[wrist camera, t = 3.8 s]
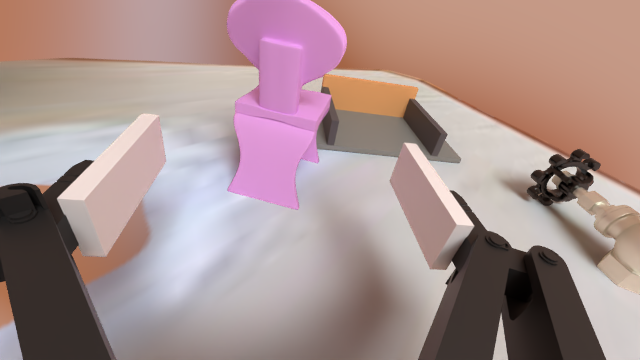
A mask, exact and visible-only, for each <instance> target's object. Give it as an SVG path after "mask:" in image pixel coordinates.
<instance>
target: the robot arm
mask: <svg viewBox="0 0 640 360" xmlns="http://www.w3.org/2000/svg"><path fill="white" fill-rule="evenodd" d="M165 163H166V157H165V151H164V145H163V138H162V132H161V126H160V120H159V115H153V114H144V113H142V114H141V115H140V116H139V117H138V118H137V119H136V120H135V121H134V122H133V123H132V124H131V125H130V126H129V127H128V128H127V129H126V130H125V131H124V132H123V133H122V134H121V135H120V136H119V137H118V138H117V139H116V140H115V141H114V142H113V143H112V144H111V145H110V146H109V147H108V148H107V149H106V150H105V151H104V152H103V153H102V154H101V155H100V156H99V157H98V158H97V159H96V160H95V161H92V160H84V161H82V162H80V163H78V164H76V165H74V166H72V167H71V168H70V169H69V170H68V171H67V172H66V173H65V174H64V176H62V177H60V178H59V179H58V180H57V182H55V183H54V184H53V185H52V186H51V187H50V188H49V189H48V190H46V191H45V192H44V193H43V194H42V193H41V191H40V189H39V188H38V187H37V186H36V185H33V184H29V183H17V184H11V185H6V186H3V187H0V282H3V281H6V285H7V290H8V294H9V299H10V303H11V307H12V312H13V316H14V321H15V325H16V330H17V334H18V339H19V343H20V348H21V352H22V357H23V360H116V358H115V356H114V353H113V351H112V349H111V346H110V344H109V342H108V339H107V337H106V334H105V332H104V330H103V327H102V325H101V323H100V320H99V318H98V316H97V313H96V311H95V308H94V306H93V304H92V301H91V299H90V297H89V294H88V292H87V289H86V287H85V285H84V282H83V280H82V278H81V275H80V273H79V271H78V268H77V266H76V263H75V261H74V259H73V257H72V255H71V254H72V253H73V251H74V250H75V249H76V247H77V246H79V248H80V251H81V252H82V255H83V256H97V257H106V256H107V254H108V253H109V251H110V249H111V248H112V246H113V245H114V243H115V242H116V240H117V238H118V237H119V235H120V233H121V232H122V231H123V229H124V227H125V226H126V224H127V223H128V221H129V219H130V218H131V216H132V215H133V213H134V212H135V210H136V208H137V207H138V205H139V204H140V202H141V200H142V199H143V197H144V196H145V194H146V193H147V191H148V189H149V188H150V186H151V185H152V183H153V181H154V180H155V178H156V177H157V175H158V174H159V172H160V170H161V169H162V167H163V166H164V164H165ZM390 183H391V185H392V187H393V189H394V192H395V194H396V196H397V198H398V200H399V202H400V205H401V207H402V209H403V211H404V213H405V215H406V218H407V220H408V222H409V224H410V226H411V228H412V231H413V233H414V235H415V237H416V239H417V241H418V244H419V246H420V248H421V250H422V252H423V254H424V257H425V259H426V261H427V263H428V265H429V267H430V269H439V270H446V269H447V267H448V266H449V264H450V263H451V261H452V262H453V263H454V265H455V267H456V269H455V270H454V272H453V273H452V275H451V276H450V277H449V279H448V280H447V282H446V283H445V284H447V285H448V286H447V288H446V291H445V293H444V296H443V298H442V301H441V303H440V306H439V308H438V311H437V313H436V316H435V318H434V321H433V323H432V326H431V328H430V331H429V333H428V336H427V338H426V341H425V343H424V346H423V348H422V351H421V353H420V356H419V358H418V360H492V359H493V354H494V348H495V343H496V337H497V332H498V326H499V321H500V315H501V313H502V320H503V327H504V334H505V340H506V347H507V354H508V360H606V358H605V356H604V353H603V351H602V348H601V346H600V344H599V341H598V339H597V336H596V334H595V332H594V329H593V327H592V324H591V322H590V320H589V317H588V315H587V312H586V310H585V308H584V305H583V303H582V301H581V298H580V296H579V293H578V291H577V289H576V286H575V284H574V281H573V279H572V277H571V274H570V272H569V269H568V267H567V265H566V263H565V262H564V260H563V259H562V258H561V257H560V256H559V255H558V254H557V253H555V252H554V251H552V250H550V249H548V248H546V247H542V246H533V247H532V248H531V249H530V250H529V251H528V252H523V251H520V250H517V249H513V248H512V247H511V245H510V244H509V242H508V241H506V240H505V239H504V238H503V237H501V236H500V235H498V234H496V233H494V232H491V231H487V230H486V229H485V227H484V226H483V225H482V223H481V222H480V221H479V219H478V218H477V217H476V215H475V214H474V213H473V212H472V210H471V209H470V207H469V206H468V205H467V203H466V202H465V200H464V199H463V198H462V197H461V196H460V195H458V194H457V193H456V192H455V191H451V190H449V189H448V188H447V186H446V185H445V184H444V182H443V181H442V179H441V178H440V177H439V175H438V174H437V172H436V171H435V169H434V168H433V167H432V165H431V164H430V162H429V161H428V160H427V158H426V157H425V155H424V154H423V153H422V151H421V150H420V148H419V147H418V145H417V144H413V143H404V144H403V146H402V149H401V152H400V155H399V157H398V160H397V163H396V165H395V168H394V171H393V173H392V176H391V179H390Z"/></svg>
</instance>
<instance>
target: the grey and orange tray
mask: <svg viewBox="0 0 640 360" xmlns="http://www.w3.org/2000/svg"><path fill="white" fill-rule="evenodd" d="M417 92H418V88H417V87H412V86H405V85H398V84H391V83H384V82H378V81H371V80H364V79H357V78H350V77H343V76H336V75H329V74H324V77H323V83H322V89H321V93H324V94H328V95H332V96H331V101H330V107H329V111H328V113H327V114H326V115H325V117H324V118H323V120H322V121H321V123H320V124H319V126H318V130H317V135H316V144H317V149H326V150H336V151H346V152H356V153H365V154H375V155H385V156H395V157H399V155H400V152H401V149H402V146H403V144H404V143H413V144H417V145H418V147H419V148H420V150H421V151H422V153H423V154H424V155H425V157H426V158H427V160H434V161H444V162H453V163H460V161H461V158H460V157H459V156H458V155H457V154H456V152H455V151H454V150H453V149H452V148H451V147H450V146H449V144H448V143H447V142H446V141H445V139H446V137H447V135H448V134H447V133H446V132H445V131H444V130H443V129H442V128H441V127H440V126H439V125H438V123H437V122H436V121H435V120H434V119H433V118H432V117H431V116H430V115H429V114H428V113H427V112H426V111H425V110H424V109H423V107H422V106H421V105H420V104H419V103H418V102H417V101H416V100H415V97H416V94H417Z"/></svg>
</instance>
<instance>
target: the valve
mask: <svg viewBox="0 0 640 360" xmlns="http://www.w3.org/2000/svg"><path fill="white" fill-rule="evenodd" d="M582 159H585V160H584V161H583V162H581V160H582ZM549 163H550V164H551V166H550V167H549V168H548V169H547V170H545V171H541V170H536V171H534V172H533V173H532V174H531V178H532V179H533V180H534V181H535V182H537V183H538V184H537V185H536V186H531V187H529V188H528V189H527V193H528V194H529V195H530V196H531V197H532V198H533V199H538V200H539V201H540V202H541V203H542V204H543V205H546V206H549V205H551V204H552V203H553V201H557V202H564V201H565V202H567V201H570V200H572V199H576V198H578V201H577V203H578V204H579V205H580V206H581V207H582V208H583V209H584V210H586V211H587V212H588V213H589V214H591V215H594V214H596V215H595V216H594V217H595V218H596V220H595V222H594V227H595V229H596V230H598V231H599V232H600V233H601V234H602V235H603V236H605V237H608V238H614V239H615V240H616V241H615V244H614V248H613V249H612V250H611V251H610V252H608V253H607V254H606V255H605V256H604V257H603V258H602V259H601V261H600V262H599V263H598V265H597V267H598V268H599V269H600V270H601V271H602V272H603V273H604V274H605V275H606V276H607V277H608V278H609V279H610V280H611V281H612V282H614V283H615V284H616V285H617V286H619V287H621V288H624V289H626V290H629V291H632V292H634V293H637V294H639V295H640V214H639V213H638V212H636V211H635V210H634V209H632V208H631V207H629V206H626V205H620V206H614V205H610V204H609V202H608V201H607V200H606V199H605V198H604V197H602V196H601V195H599V194H598V193H597V192H595V191H591V192H588V191H587V190H588V188H589V186H591V185H592V184H593V182H594V181H593V176H592V175H591V174H590V173H589V172H587V170H589V169H592V170H594V171H596V170H598V169H599V168H600V163H599V162H597V161H596V160H594V159H592V158H590V155H589V154H588V153H586V152H585V151H583V150H581V149H577V150H575V151H573V152H572V154H571V156H570V158H569V159H565V158H564V157H562V156H561V155H559V154H556V155H553V156H552V157H551V158H550V159H549ZM567 167H577V172H576V174H575V175H571V174H570V173H569V172H567V171H560V170H562V169H564V168H567ZM554 174H555V176H554V177H553V179H552V182H553V183H554V184H555V185H556V188H557V189H554V190H548V189H547V183H548V181H549V179H550V178H551V177H552V176H553V175H554ZM539 193H542V194H541V195H539V196H538V194H539ZM551 199H552V200H553V201H552V200H551ZM609 205H610V206H609Z"/></svg>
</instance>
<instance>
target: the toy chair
mask: <svg viewBox="0 0 640 360" xmlns="http://www.w3.org/2000/svg"><path fill="white" fill-rule="evenodd" d="M227 29H228V34H229V37H230V39H231V40H232V42H233V44H234V45H235V46H236V47H237V48H238V50H240V51H241V52H242V53H243V54H244V55H245V56H246V57H247V58H248V60H249V61H250V62H252V64H254V66H255V67H256V68H257V69H258V70H259V85H258V86H257V87H256V88H255V89H254V90H252V91H251V92H249V93H248V94H246V95H244V96H242V97H241V98H239V99H238V100H237V101H235V112H236V113H235V115H234V127H235V131H236V134H237V138H238V141H239V147H240V163H239V167H238V170H237V172H236V175H235V177H234V179H233V181H232V182H231V184H230V186H229V188H228V191H229V192H233V193H237V194H240V195H244V196H248V197H251V198H255V199H259V200H263V201H266V202H270V203H274V204H277V205H281V206H285V207H288V208H292V209H296V210H298V209H299V202H298V198H297V192H296V184H295V175H296V169H297V166H298V163H299V161H300V159H303V160H307V161H311V162H315V163H318V162H319V158H318V152H317V144H316V135H317V130H318V126H319V124H320V123H321V121H322V120H323V118H324V117H325V115H326V114H327V113H328V111H329V107H330V101H331V96H332V95H328V94H324V93H320V92H314V91H308V90H302V89H301V88H302V86H303V85H304V84H306V83H308V82H310V81H312V80H315V79H317V78H320V77H323V76H324V74H326V73H327V72H329V71H331V70H332V69H334V68H335V67H336V66H337V65H338V64H339V63H340V61H341V59H342V57H343V55H344V53H345V50H346V46H347V38H346V34H345V31H344V29H343V28H342V26H341V25H340V24H339V22H338V21H337V20H336V19H335V18H334V17H333V16H332V15H331V14H329V13H328V12H327V11H325V10H324V9H323V8H321V7H320V6H318V5H317V4H315V3H314V2H312V1H310V0H237V1H236V2H235V3H234V4H233V5H232V6H231V8H230V11H229V13H228V19H227Z"/></svg>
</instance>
